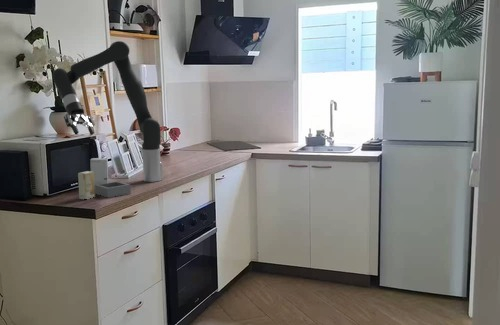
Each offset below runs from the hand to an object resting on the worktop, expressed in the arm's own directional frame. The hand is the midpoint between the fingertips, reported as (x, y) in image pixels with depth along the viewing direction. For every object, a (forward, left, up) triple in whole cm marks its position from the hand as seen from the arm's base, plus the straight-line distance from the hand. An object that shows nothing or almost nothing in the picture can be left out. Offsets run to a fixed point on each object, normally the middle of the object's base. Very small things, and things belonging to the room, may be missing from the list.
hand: (84, 133), depth 235 cm
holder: (-8, +9, -29) cm, 31 cm away
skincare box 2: (-11, -10, -29) cm, 33 cm away
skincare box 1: (+5, +8, -29) cm, 31 cm away
